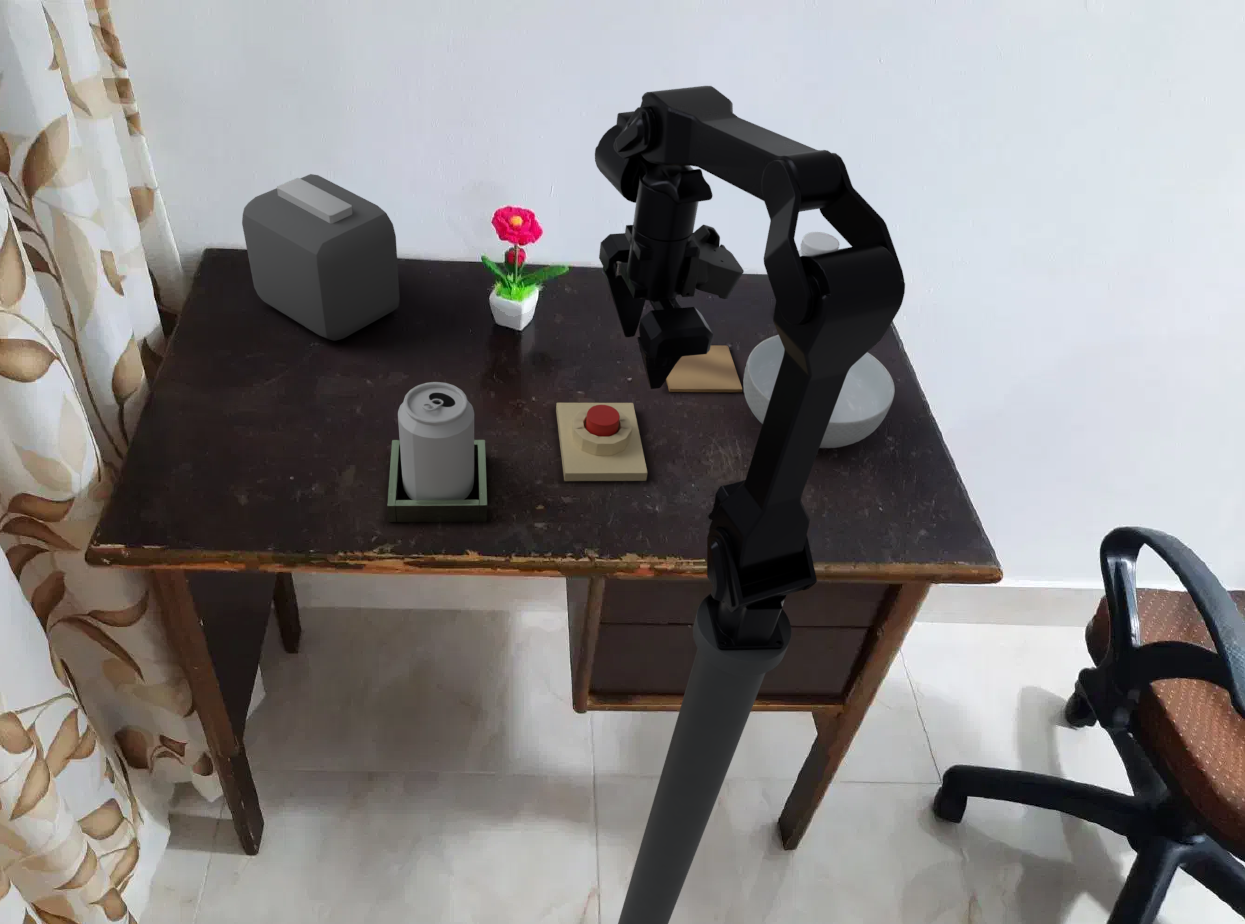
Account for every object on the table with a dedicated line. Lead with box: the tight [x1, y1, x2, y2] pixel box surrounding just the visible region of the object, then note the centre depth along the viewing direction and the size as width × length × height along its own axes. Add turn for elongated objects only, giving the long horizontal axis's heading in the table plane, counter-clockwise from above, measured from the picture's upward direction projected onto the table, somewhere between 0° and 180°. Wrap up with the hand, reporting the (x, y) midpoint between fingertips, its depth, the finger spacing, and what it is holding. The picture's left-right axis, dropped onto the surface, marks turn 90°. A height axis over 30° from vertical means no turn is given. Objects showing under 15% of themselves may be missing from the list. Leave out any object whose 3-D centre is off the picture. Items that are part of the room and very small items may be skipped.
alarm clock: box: [241, 173, 401, 342], centre depth 116 cm, size 16×11×16 cm
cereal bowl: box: [742, 334, 896, 449], centre depth 109 cm, size 17×17×7 cm
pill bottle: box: [798, 231, 840, 256], centre depth 124 cm, size 6×6×11 cm
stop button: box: [586, 405, 620, 437], centre depth 105 cm, size 4×4×2 cm
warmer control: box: [555, 402, 648, 482], centre depth 106 cm, size 12×9×3 cm
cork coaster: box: [665, 344, 743, 393], centre depth 118 cm, size 9×9×1 cm
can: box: [397, 381, 475, 500], centre depth 96 cm, size 8×8×12 cm
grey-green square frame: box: [387, 439, 488, 523], centre depth 100 cm, size 10×10×2 cm
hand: (641, 361), depth 101 cm, fingers open, 9 cm apart
